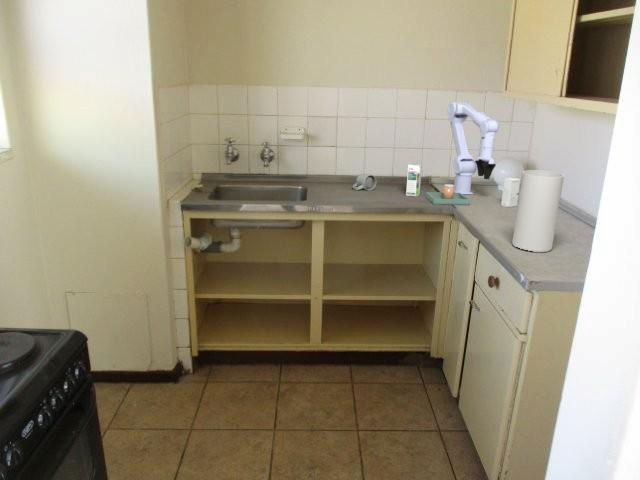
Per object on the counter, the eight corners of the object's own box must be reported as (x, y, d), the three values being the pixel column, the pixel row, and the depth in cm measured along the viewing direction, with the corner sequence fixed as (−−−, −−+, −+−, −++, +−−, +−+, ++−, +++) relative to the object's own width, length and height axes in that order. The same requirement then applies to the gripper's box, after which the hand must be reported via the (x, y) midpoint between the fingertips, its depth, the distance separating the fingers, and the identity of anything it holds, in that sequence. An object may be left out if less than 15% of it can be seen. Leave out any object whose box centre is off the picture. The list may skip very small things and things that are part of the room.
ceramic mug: (366, 186, 264) (367, 171, 262) (376, 189, 258) (377, 174, 255) (349, 188, 259) (349, 173, 257) (358, 192, 252) (359, 176, 250)
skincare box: (508, 207, 229) (512, 180, 225) (500, 205, 233) (503, 178, 229) (517, 205, 232) (521, 179, 229) (509, 203, 236) (512, 177, 232)
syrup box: (405, 195, 247) (407, 165, 242) (407, 193, 252) (410, 163, 247) (417, 196, 245) (420, 166, 240) (419, 194, 250) (422, 164, 246)
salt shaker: (441, 198, 240) (442, 183, 237) (451, 198, 240) (452, 183, 238) (444, 201, 235) (445, 185, 233) (454, 201, 235) (455, 185, 233)
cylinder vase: (557, 247, 176) (570, 174, 169) (541, 255, 168) (554, 179, 160) (522, 239, 185) (532, 168, 177) (505, 246, 177) (515, 172, 169)
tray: (425, 197, 244) (426, 192, 243) (459, 197, 245) (459, 192, 244) (433, 204, 230) (434, 199, 230) (469, 205, 231) (469, 199, 231)
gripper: (472, 145, 242) (469, 174, 246) (484, 149, 228) (480, 180, 232) (487, 145, 242) (484, 174, 246) (499, 149, 228) (496, 180, 232)
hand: (483, 177), depth 239 cm, fingers open, 7 cm apart
